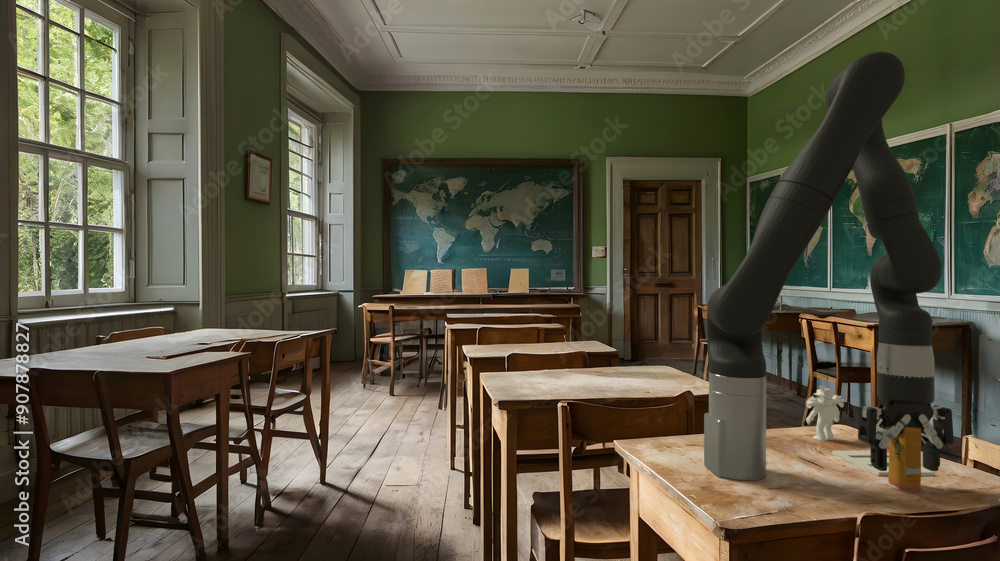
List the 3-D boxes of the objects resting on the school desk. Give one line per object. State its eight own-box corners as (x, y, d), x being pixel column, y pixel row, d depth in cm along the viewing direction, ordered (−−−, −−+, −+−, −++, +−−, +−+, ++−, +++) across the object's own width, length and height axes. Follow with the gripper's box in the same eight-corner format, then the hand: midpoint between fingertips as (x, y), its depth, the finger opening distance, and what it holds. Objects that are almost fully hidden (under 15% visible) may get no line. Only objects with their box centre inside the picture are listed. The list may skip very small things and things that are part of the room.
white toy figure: (815, 443, 109) (815, 386, 109) (800, 438, 113) (800, 382, 113) (848, 440, 112) (848, 384, 112) (832, 435, 115) (832, 381, 116)
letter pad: (878, 475, 90) (878, 472, 90) (832, 453, 102) (832, 450, 102) (934, 475, 90) (934, 472, 90) (882, 453, 102) (882, 450, 102)
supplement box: (923, 489, 84) (923, 427, 84) (904, 490, 84) (904, 427, 84) (905, 481, 88) (905, 422, 88) (886, 482, 87) (886, 422, 87)
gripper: (879, 375, 82) (880, 478, 82) (967, 375, 82) (968, 477, 82) (847, 367, 90) (847, 462, 89) (927, 368, 90) (928, 462, 90)
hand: (905, 469), depth 86 cm, fingers open, 8 cm apart
